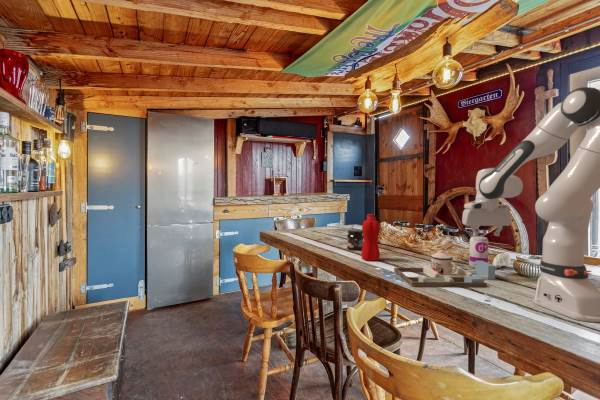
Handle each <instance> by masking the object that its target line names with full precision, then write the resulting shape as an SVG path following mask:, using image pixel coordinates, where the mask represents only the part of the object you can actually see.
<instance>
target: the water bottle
mask: <svg viewBox="0 0 600 400" xmlns="http://www.w3.org/2000/svg"><path fill="white" fill-rule="evenodd" d="M361 226H362V227H361V230H362V231H363V234H362V235H363V247H362V250H360V251H361V255H360V256H361V259H362V260H364V261H366V262H376V261H379V260H380V257H381V253H380V247H379V243H378V241H379V237H380V230H383V229H382V227H381V224H380V223H379V221H378V220H377V218H376V215H375V214H373V213H368V214H367V215H366V219H365V220H363V222H362V225H361ZM382 238H383V236H381V237H380V239H382Z"/></svg>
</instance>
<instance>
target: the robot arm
mask: <svg viewBox="0 0 600 400" xmlns="http://www.w3.org/2000/svg"><path fill="white" fill-rule="evenodd" d="M582 127H585V130H586V134H585V136H584V137H583V139H582V140H581V142H580V143H579V146H578V147H577V149H576V150H575V152H574V154H573V155H572V157H571V159H570V160H569V162H568V164H567V165H566V166H565V168H564V169H563V170H562V172H561V173H560V174H559V175H558V177H557V178H556V179H554V181H553V182H552V184H550V186H549V187H548V188H547V189H546V191H545V192H544V193H543V194H542V195H540V197H538V199H537V200H536V202H535V205H534V209H535V212H536V214H537V216H538V217H539V218H540V219H542V220H543V221H546V222H547V223H548V224H547V228H546V232H545V234H544V236H543V238H542V254H541V260H540V263H539V270H540V276H539V277H538V279H537V284H536V290H535V295H534V298H532V304H534V305H538V306H539V307H543V308H545V309H547V310H550V311H553V312H555V313H557V314H560V315H562V316H565V317H568V318H570V319H574V320H577V321H584V322H590V323H591V322H592V323H593V322H594V323H600V289H598V287H596V285H595V284H594V283H593V282H592V281H591V280H590V279H589V275H592V270H588V269H587V267H586V265H585V251H586V250H585V247H586V246H585V245H586V240H587V239H586V238H587V234H588V230H589V226H590V221H591V217H592V216H591V215H592V212H593V210H594V203H593V200H592V199H591V198H592V197H593V196H594V195H595V194H596V193H597V192H598V190H599V189H600V89H598V88H596V87H589V86H585V87H578V88H575V89H573V90H571V91H570V92H569V93H567V94H566V96H565V97H564V98H563V99H562V101H561V102H558V103H557V104H556V105H555V106H554V107H552V108H551V109H550V111H548V112H547V113H546V114H545V116H543V118H542V119H541V120H540V121H539V122H538V124H536V126H535V127H534V128H533V129H532V131H531V132H530V133H529V134H528V135H527V136H526V137H525V138H524V139H522V140H521V141H520V142H519V143H518V144H517V145H516V146H514V147H513V148H512V149H511V151H509V153H507V155H506V156H504V158H503V159H502V160H501V161H500V162H499V164H497V166H496V167H486V168H482V169H480V170H478V172H477V174H476V177H475V190H476V191H475V192H476V195H475V200H473V201H469V202H467V203H464V205H463V208H464V210H463V211H462V217H461V223H462V224H463V225H464V226H469V227H470V229H471V231H472V236H479V231H477V227H478V226H479V227H482V226H483V227H487V226H488V227H491V226H493V227H495V226H496V230H495V231H494V232H493V235H494V236H495V237H500V234H501V233H500V232H501V231H502V230H503V227H506V226H507V227H510V225H511V224H512V216H511V208H510V206H509V205H507V204H499V202H500V201H499V199H507V198H510V199H511V198H515V197H518V196H520V195H521V193H522V192H523V190H524V183H523V180H522V179H521V178H520V177H519V176H517V175H514V174H515V173H516V172H517V171H518V170H519V169H520V168H521V166H524V165H525V164H526V163H527V162H529V161H531V160H534V159H538V158H541V157H545V156H549V155H552V154H555V152H557V151H558V150H560V148H562V147H563V146H564V145H565V144H566V143H567V141H568V140H570V138H571V137H572V136H573V135H574V133H575V132H576V131H577V130H579V129H580V128H582Z"/></svg>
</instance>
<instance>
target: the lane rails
mask: <svg viewBox="0 0 600 400" xmlns="http://www.w3.org/2000/svg"><path fill="white" fill-rule="evenodd" d="M393 272H394V273H395V274H397V275H398V276H399V277H400V278H401V279H403V281H405V282H406V283H407V284H408V285H409V286H410V287H413V288H415V287H416V288H418V287H419V288H426V287H427V288H432V287H433V288H487V287H488V286H487V285H488V283H487V282H485V281H484V282H464V277H450V278H452V279H453V280H454V282H418V276H407V275H406V274H405V273H406V272H407V273H408V272H410V273H413V272H414V273H415V272H416V273H417V272H418V273H419V272H421V273H424V272H423V267H394V268H393ZM403 272H405V273H403ZM423 277H424V278H444V277H429V276H426V277H425V276H423Z"/></svg>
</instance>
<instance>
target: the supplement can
mask: <svg viewBox="0 0 600 400" xmlns="http://www.w3.org/2000/svg"><path fill="white" fill-rule="evenodd" d="M489 242H490V241H489V239H488V237H485V236H479V235H478V236H473V235H471V237H470V239H469V246H468V247H469V251H468V252H469V257H468V266H471V268H473V267H474V268H473V269H475V261H484V262H487V263H489Z"/></svg>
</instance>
